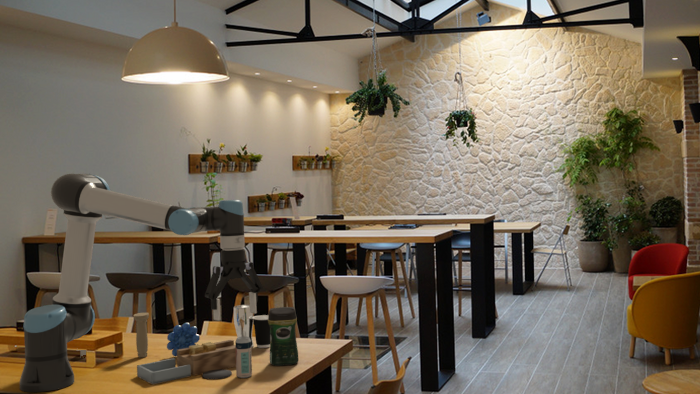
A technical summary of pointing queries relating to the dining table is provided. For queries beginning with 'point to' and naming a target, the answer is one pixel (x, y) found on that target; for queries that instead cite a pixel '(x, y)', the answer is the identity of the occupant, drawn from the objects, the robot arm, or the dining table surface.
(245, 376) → the white labelled bottle
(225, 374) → the coaster
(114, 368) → the dining table surface
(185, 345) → the grapes
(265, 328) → the dixie cup
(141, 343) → the handle
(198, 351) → the chip
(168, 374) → the tray
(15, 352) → the dining table surface
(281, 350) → the coffee jar
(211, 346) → the tan block
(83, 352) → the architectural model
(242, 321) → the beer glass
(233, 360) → the slot board
